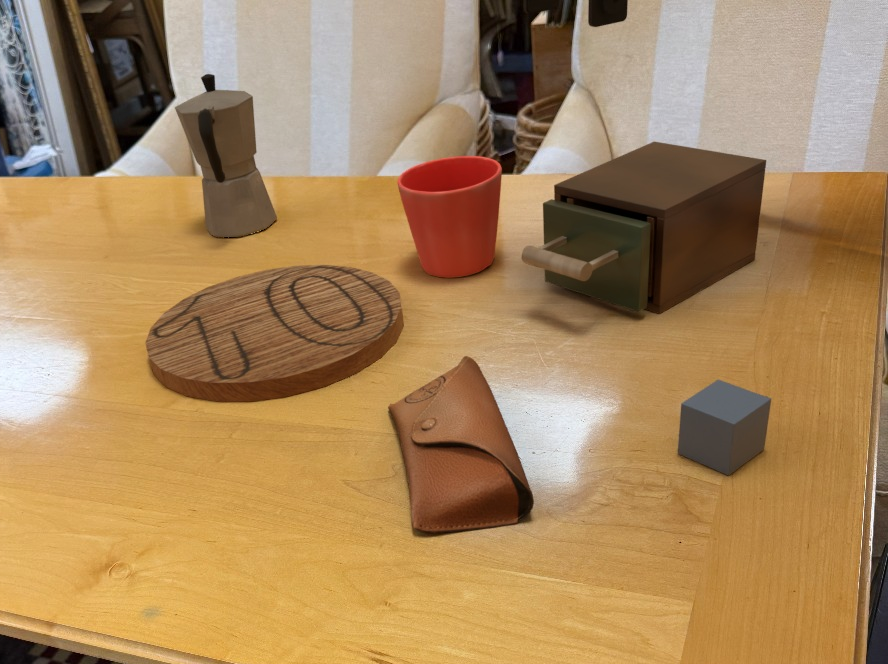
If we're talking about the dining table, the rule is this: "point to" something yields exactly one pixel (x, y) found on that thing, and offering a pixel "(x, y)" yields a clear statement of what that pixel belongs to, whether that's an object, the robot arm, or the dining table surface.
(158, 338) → the trivet
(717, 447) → the block
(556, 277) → the drawer
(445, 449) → the sunglasses case
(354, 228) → the dining table surface
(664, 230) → the cabinet
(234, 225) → the coffeepot
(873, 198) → the dining table surface
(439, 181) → the flower pot
